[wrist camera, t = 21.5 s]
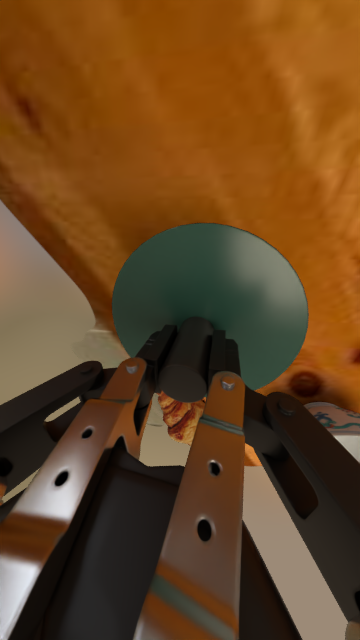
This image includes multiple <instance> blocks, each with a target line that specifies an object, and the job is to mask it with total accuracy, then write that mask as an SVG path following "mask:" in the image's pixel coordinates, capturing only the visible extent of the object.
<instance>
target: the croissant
mask: <svg viewBox="0 0 360 640" xmlns="http://www.w3.org/2000/svg"><path fill="white" fill-rule="evenodd" d="M157 394H158V395H159V397H158V401H159V404H160V406H161V409H162V410H163V421H164V422H165V423H166V424H167V425H168V434H169V436H170V437H171V439H174V440H175V441H177V442H182V443H185V444H188V445H190V446H191V444H192V441H193V437H194V434H195V430H196V427H197V423H198V420H199V418H200V417H201V416H202V414H203V410H204V406H205V403H204V402H203V401H202V400H200V401H197V402H193V403H184V402H179V401H176V400H174V399H172V398H170V397H169V396H167V395H166V394H165V393H164V392H163V391H161V394H159V393H157Z"/></svg>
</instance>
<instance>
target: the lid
mask: <svg viewBox="0 0 360 640" xmlns="http://www.w3.org/2000/svg"><path fill="white" fill-rule="evenodd" d="M112 313H113V320H114V325H115V328H116V331H117V334H118V336H119V339H120V341H121V343H122V345H123V346H124V348H125V350H126V351H127V353H128V354H129V356H130V357H131V358H134V357H135V356H136V355H137V353H138V352H139V351H140V349H141V348H142V346H143V345H144V344H145V342H146V341H147V340H148V338H149V337H150V335H151V334H153V333H154V332H156V331H161V330H162V329H163V327H164V326H165V324H168V325H177V330H178V334H177V336H176V338H175V340H174V342H173V344H172V346H171V348H170V350H169V352H168V355H167V357H166V359H165V361H164V363H163V365H162V367H161V369H160V371H159V373H158V378H157V379H158V384H159V387H160V389H161V390H162V391H163V392H164V393H165V394H166V395H167V396H169V397H170V398H172V399H174V400H176V401H179V402H184V403H193V402H197V401H200V400H201V399H203V398H204V397H206V396H207V391H208V370H209V362H210V354H211V347H212V339H213V331H214V329H216V330H226V339H234V340H235V342H236V343H237V344H238V350H239V351H238V352H239V360H240V370H241V378H242V380H243V381H244V383H245V385H246V386H248V387H249V388H250V389H252V390H253V391H254V390H257V389H259V388H261V387H263V386H265V385H267V384H269V383H270V382H272V381H273V380H275V379H276V378H277V377H279V376H280V375H281V374H282V373H283V372H284V371H285V370H286V369H287V368H288V367H289V366H290V365H291V364H292V362H293V361H294V360H295V358H296V356H297V355H298V353H299V352H300V349H301V347H302V345H303V343H304V340H305V336H306V332H307V328H308V316H309V314H308V303H307V298H306V295H305V291H304V287H303V285H302V283H301V281H300V279H299V277H298V275H297V273H296V271H295V270H294V269H293V267H292V266H291V264H290V263H289V262H288V260H287V259H286V258H285V257H284V256H283V255H282V254H281V253H280V252H279V251H278V250H277V249H276V248H274V247H273V246H271V245H270V244H269V243H267V242H266V241H265V240H263V239H261V238H259V237H257V236H256V235H254V234H252V233H250V232H248V231H245V230H242V229H239V228H235V227H232V226H228V225H222V224H216V223H195V224H187V225H181V226H178V227H174V228H171V229H168V230H165V231H163V232H161V233H159V234H157V235H155V236H153V237H151V238H150V239H149V240H147V241H146V242H144V243H143V244H141V245H140V246H139V247H138V248H137V249H136V250H135V251H134V252H133V253H132V254H131V256H130V257H129V258H128V259H127V261H126V262H125V263H124V265H123V267H122V269H121V271H120V272H119V275H118V277H117V280H116V283H115V287H114V291H113V298H112Z"/></svg>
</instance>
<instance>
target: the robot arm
mask: <svg viewBox="0 0 360 640" xmlns="http://www.w3.org/2000/svg"><path fill="white" fill-rule="evenodd" d="M177 334H178V330H177V325H168V324H165V326H164V327H163V329H162V330H161V331H156V332H154V333H153V334H151V335H150V337H149V338H148V340H147V341H146V342H145V344H144V345H143V346H142V348H141V349H140V351H139V352H138V353H137V355H136V356H135V357H134V358H129V359H126V360H125V361H123V362H122V363H121V364H120V365H119V366H118V368H108V369H103V367H102V364H101V363H100V362H98V361H87V362H84V363H82V364H80V365H78V366H76V367H74V368H72V369H70V370H68V371H66V372H64V373H63V374H60V375H58V376H56V377H54V378H52V379H50V380H49V381H47V382H45V383H43V384H41V385H39V386H37V387H35V388H33V389H31V390H29V391H27V392H25V393H23V394H21V395H19V396H18V397H15V398H14V399H12V400H10V401H8V402H6V403H4V404H2V405H0V640H302V638H301V636H300V634H299V632H298V630H297V628H296V626H295V624H294V622H293V620H292V618H291V615H290V614H289V611H288V609H287V607H286V605H285V603H284V601H283V599H282V597H281V595H280V593H279V591H278V589H277V587H276V585H275V583H274V581H273V579H272V577H271V575H270V573H269V571H268V569H267V567H266V565H265V563H264V561H263V559H262V557H261V555H260V553H259V551H258V549H257V547H256V545H255V543H254V541H253V539H252V537H251V535H250V532H249V531H248V529H247V527H246V525H245V523H244V521H243V520H242V512H243V483H244V456H245V443H246V444H248V445H250V446H252V447H253V448H254V451H255V453H256V455H257V456H258V458H259V460H260V462H261V464H262V466H263V467H264V469H265V471H266V473H267V474H268V477H269V478H270V480H271V482H272V484H273V486H274V487H275V489H276V491H277V493H278V495H279V497H280V498H281V500H282V502H283V504H284V506H285V508H286V509H287V511H288V513H289V515H290V517H291V519H292V520H293V522H294V524H295V526H296V528H297V530H298V531H299V533H300V535H301V537H302V538H303V541H304V542H305V544H306V546H307V548H308V550H309V551H310V553H311V555H312V557H313V559H314V560H315V562H316V564H317V566H318V568H319V570H320V571H321V573H322V575H323V577H324V579H325V581H326V582H327V584H328V586H329V588H330V590H331V592H332V594H333V595H334V597H335V599H336V601H337V603H338V605H339V606H340V608H341V610H342V612H343V613H344V616H345V617H346V619H347V621H348V624H347V628H346V633H345V640H360V463H359V462H358V461H357V460H356V459H355V458H354V457H353V456H352V455H351V454H350V453H349V452H348V451H347V450H346V448H345V447H344V446H343V445H342V444H341V443H340V442H339V441H338V440H337V439H336V438H335V437H334V436H333V435H332V434H331V433H330V432H329V431H328V430H327V429H326V428H325V427H324V426H323V425H322V424H321V423H320V422H319V421H318V420H317V419H316V418H315V417H314V416H313V415H312V414H311V413H310V412H309V411H308V410H307V409H306V407H305V406H304V405H303V404H302V403H301V402H299V401H298V400H297V399H296V398H294V397H292V396H290V395H288V394H285V393H281V392H273V393H270V394H269V395H268V396H264V395H262V394H260V393H257V392H255V391H253V390H252V389H250V388H249V387H248V386H246V385H245V383H244V381H243V380H242V378H241V370H240V360H239V352H238V351H239V350H238V344H237V343H236V342H235V340H234V339H226V330H216V329H214V331H213V339H212V347H211V354H210V362H209V370H208V391H207V396H206V403H205V406H204V410H203V414H202V416H201V417H200V418H199V420H198V423H197V427H196V430H195V434H194V437H193V441H192V444H191V448H190V451H189V455H188V458H187V462H186V465H185V467H184V466H180V465H179V466H153V467H150V466H146V465H144V464H143V463H142V462H140V461H139V456H140V445H141V440H142V436H143V433H144V429H145V425H146V422H147V419H148V415H149V412H150V409H151V405H152V397H153V394H154V393H159V394H161V391H162V390H161V389H160V387H159V384H158V379H157V378H158V373H159V371H160V369H161V367H162V365H163V363H164V361H165V359H166V357H167V355H168V352H169V350H170V348H171V346H172V344H173V342H174V340H175V338H176V336H177ZM78 396H79V399H80V401H81V402H80V403H79V404H77V405H76V406H74V407H73V408H71V409H70V410H68V411H66V412H65V413H63V414H62V415H60V416H59V417H57V418H56V419H54V420H52V421H49V422H46V421H44V420H45V419H46V418H47V417H48V416H49V415H50V414H51V413H53V412H55V411H56V410H58V409H59V408H61V407H63V406H64V405H66V404H67V403H69V402H70V401H72V400H74V399H75V398H77V397H78ZM40 467H41V468H40ZM39 468H40V469H39ZM38 469H39V471H38V472H37V474H36V475H35V477H34V478H33V479H32V481H31V482H30V484H29V485H28V487H27V488H25V489H24V490H23V491H21V492H20V493H18V494H17V495H15V496H14V497H12V498H11V499H9V500H8V501H7V502H5V503H4V504H3V500H2V497H3V496H5V495H6V494H7V493H8V492H10V491H11V490H12V489H14V488H15V487H16V486H17V485H19V484H20V483H21V482H22V481H24V480H25V479H26V478H27V477H29V476H30V475H31V474H33V473H34V472H35V471H36V470H38Z"/></svg>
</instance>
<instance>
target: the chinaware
mask: <svg viewBox="0 0 360 640" xmlns="http://www.w3.org/2000/svg"><path fill="white" fill-rule="evenodd" d="M304 406H305V407H306V409H307V410H308V411H309V412H310V413H311V414H312V415H313V416H314V417H315V418H316V419H317V420H318V421H319V422H320V423H321V424H322V425H323V426H324V427H325V428H326V429H327V430H328V431H329V432H330V433H331V434H332V435H333V436H334V437H335V438H336V439H337V440H338V441H339V442H340V443H341V444H342V445H343V446H344V447H345V448H346V450H347V451H348V452H349V453H350V454H351V455H352V456H353V457H354V458H355V459H356V460H357V461H358V462H359V463H360V414H359V413H356V412H354V411H350V410H347V409H343V408H339V407H338V406H336V405H334V404H331V403H326V402H313V403H308V404H306V405H304Z"/></svg>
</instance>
